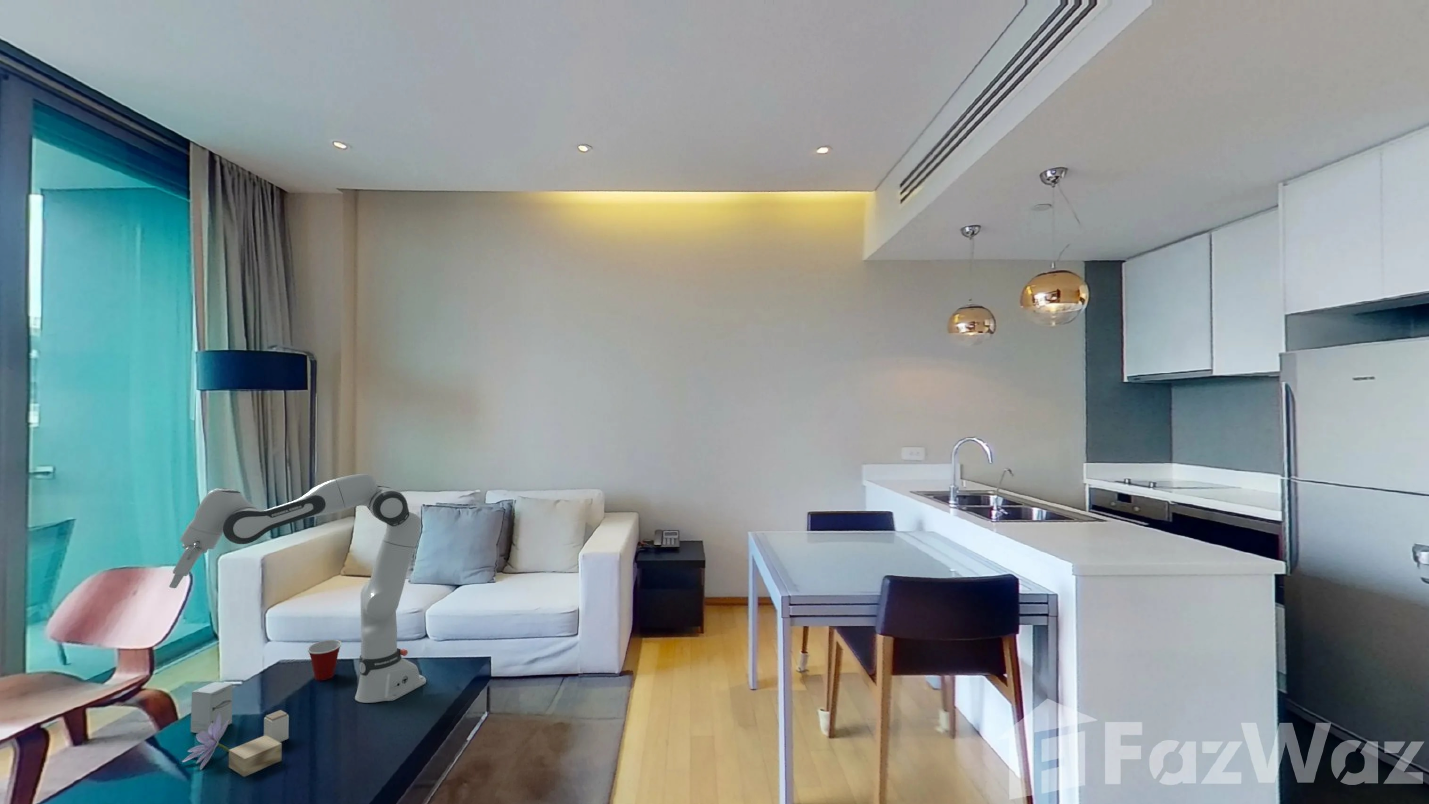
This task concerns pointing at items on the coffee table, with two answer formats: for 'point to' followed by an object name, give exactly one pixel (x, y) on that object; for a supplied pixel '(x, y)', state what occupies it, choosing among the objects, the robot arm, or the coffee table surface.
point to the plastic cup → (324, 658)
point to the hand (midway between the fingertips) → (174, 583)
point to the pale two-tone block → (277, 725)
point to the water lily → (208, 742)
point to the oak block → (255, 755)
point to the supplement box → (211, 705)
